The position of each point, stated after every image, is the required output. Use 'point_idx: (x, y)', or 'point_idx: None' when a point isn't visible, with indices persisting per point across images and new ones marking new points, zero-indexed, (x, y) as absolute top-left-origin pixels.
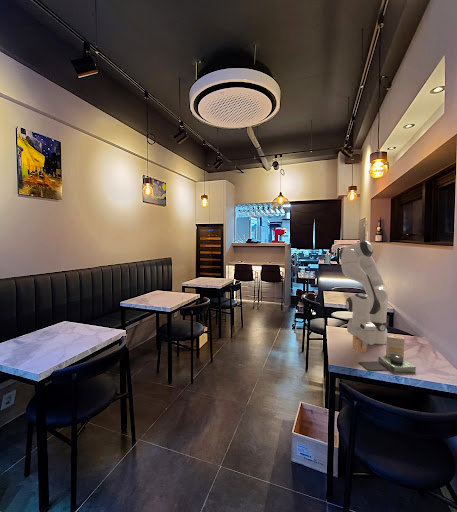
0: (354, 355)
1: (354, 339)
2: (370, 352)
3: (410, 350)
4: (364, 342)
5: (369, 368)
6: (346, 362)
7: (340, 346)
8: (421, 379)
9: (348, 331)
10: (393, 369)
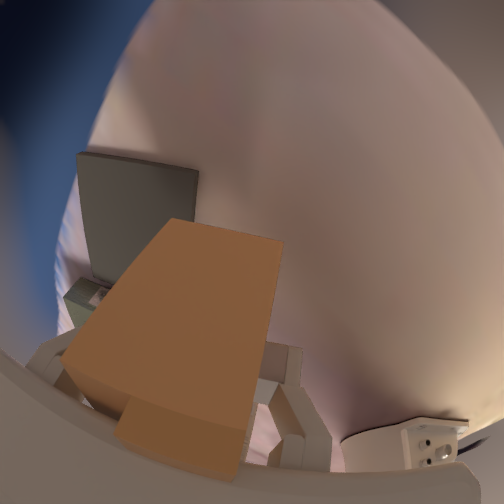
0: (333, 259)
1: (184, 380)
2: (318, 374)
3: (268, 448)
4: (37, 357)
5: (91, 176)
6: (227, 58)
7: (487, 286)
8: (60, 315)
9: (451, 484)
10: (76, 288)
